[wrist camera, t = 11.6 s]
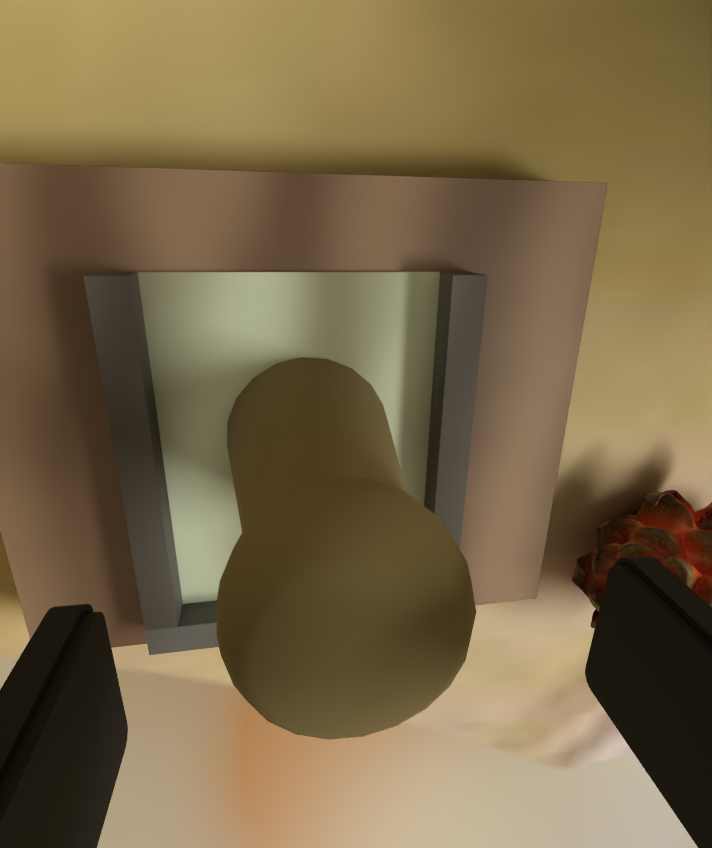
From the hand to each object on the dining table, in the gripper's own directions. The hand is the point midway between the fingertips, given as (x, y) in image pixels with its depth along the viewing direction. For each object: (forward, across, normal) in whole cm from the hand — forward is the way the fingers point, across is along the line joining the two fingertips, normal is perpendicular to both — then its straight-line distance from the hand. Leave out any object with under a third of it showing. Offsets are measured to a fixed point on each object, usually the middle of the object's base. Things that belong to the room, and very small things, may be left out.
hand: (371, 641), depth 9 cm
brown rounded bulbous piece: (+11, 0, 0) cm, 11 cm away
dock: (+14, +1, 0) cm, 14 cm away
